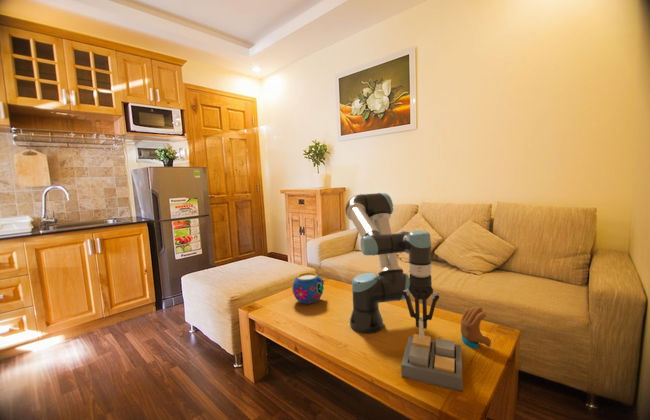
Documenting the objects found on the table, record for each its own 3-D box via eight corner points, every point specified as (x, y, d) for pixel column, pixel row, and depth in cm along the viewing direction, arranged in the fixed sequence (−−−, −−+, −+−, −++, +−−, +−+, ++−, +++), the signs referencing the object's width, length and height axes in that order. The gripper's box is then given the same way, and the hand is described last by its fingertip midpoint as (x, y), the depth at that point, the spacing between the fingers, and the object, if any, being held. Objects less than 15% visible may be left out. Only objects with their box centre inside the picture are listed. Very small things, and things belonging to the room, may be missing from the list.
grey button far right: (435, 357, 98) (435, 346, 97) (436, 347, 103) (436, 337, 103) (454, 361, 95) (454, 350, 95) (454, 351, 100) (454, 340, 100)
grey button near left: (409, 366, 94) (408, 355, 93) (411, 355, 99) (411, 345, 99) (427, 370, 91) (427, 359, 91) (429, 359, 97) (429, 348, 96)
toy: (492, 352, 103) (492, 314, 102) (475, 354, 103) (475, 316, 101) (472, 334, 115) (472, 300, 114) (456, 336, 115) (456, 301, 113)
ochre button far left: (412, 352, 101) (412, 342, 101) (414, 343, 106) (414, 333, 106) (429, 356, 98) (429, 345, 98) (431, 346, 104) (430, 336, 103)
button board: (401, 377, 93) (401, 364, 93) (409, 346, 110) (409, 335, 109) (462, 392, 85) (462, 378, 85) (461, 356, 102) (461, 345, 101)
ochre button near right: (434, 377, 91) (434, 365, 90) (435, 365, 96) (435, 355, 96) (454, 382, 88) (454, 370, 88) (454, 370, 93) (454, 359, 93)
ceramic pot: (324, 307, 148) (322, 280, 146) (291, 309, 148) (289, 282, 146) (324, 294, 165) (323, 270, 163) (295, 295, 165) (293, 271, 164)
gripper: (400, 275, 99) (401, 337, 101) (439, 279, 93) (440, 345, 96) (403, 269, 106) (405, 327, 108) (440, 272, 100) (441, 333, 102)
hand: (421, 335), depth 102 cm, fingers closed
